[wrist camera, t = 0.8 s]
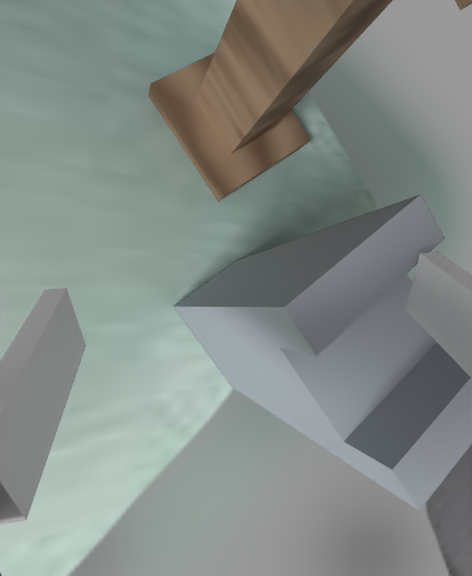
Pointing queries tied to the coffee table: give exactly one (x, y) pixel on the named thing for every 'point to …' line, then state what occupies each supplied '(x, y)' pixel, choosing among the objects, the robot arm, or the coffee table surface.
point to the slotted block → (344, 347)
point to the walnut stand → (258, 84)
